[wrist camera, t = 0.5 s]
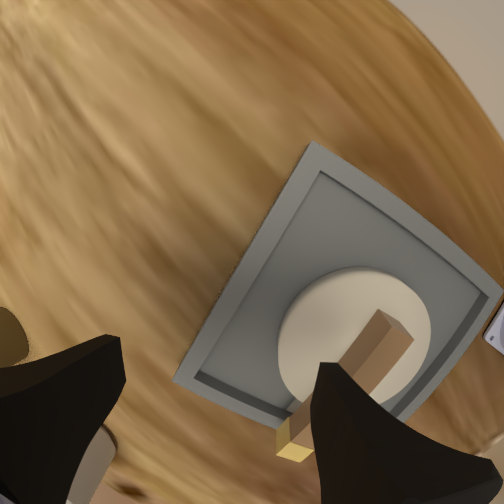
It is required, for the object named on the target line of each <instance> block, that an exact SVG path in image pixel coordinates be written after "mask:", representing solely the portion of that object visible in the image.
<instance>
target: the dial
mask: <svg viewBox="0 0 504 504" xmlns="http://www.w3.org/2000/svg"><path fill="white" fill-rule="evenodd" d="M430 337H431V326H430V319H429V315H428V312H427V310H426V307H425V305H424V303H423V302H422V300H421V299H420V298H419V296H418V295H417V294H416V293H415V292H414V291H413V290H412V289H410V288H409V287H408V286H407V285H406V284H404V283H403V282H402V281H401V280H399V279H398V278H397V277H396V276H394V275H392V274H390V273H388V272H386V271H383V270H380V269H376V268H372V267H350V268H345V269H340V270H337V271H334V272H331V273H329V274H326V275H324V276H322V277H320V278H319V279H317V280H315V281H314V282H312V283H311V284H310V285H308V286H307V287H306V288H305V289H303V290H302V291H301V292H300V293H299V294H298V295H297V296H296V298H295V299H294V300H293V302H292V303H291V304H290V306H289V307H288V309H287V311H286V312H285V314H284V317H283V319H282V322H281V325H280V329H279V334H278V365H279V370H280V374H281V377H282V380H283V382H284V384H285V385H286V387H287V389H288V390H289V391H290V392H291V393H292V395H293V396H295V397H296V398H297V399H298V400H299V401H301V402H302V404H301V405H300V406H299V408H298V409H297V410H296V411H295V412H294V413H293V414H292V415H291V416H290V417H288V418H287V419H286V420H285V421H284V422H283V423H282V424H281V425H280V426H279V427H278V428H277V429H276V455H278V456H281V457H284V458H287V459H290V460H293V461H297V462H301V461H302V460H303V459H305V458H306V457H307V456H308V455H309V454H310V453H312V452H313V451H314V443H313V438H312V432H311V420H310V403H311V399H312V395H313V391H314V387H315V383H316V378H317V374H318V369H319V365H320V362H337V363H338V364H339V365H340V366H341V367H342V368H343V369H344V370H345V371H346V372H347V373H348V374H349V375H350V376H351V377H352V379H353V380H354V381H355V382H356V383H357V384H358V385H359V386H360V387H361V388H362V389H363V390H364V391H365V392H366V393H367V394H368V395H369V396H370V397H371V398H373V399H374V400H375V401H376V402H377V403H378V404H381V403H383V402H385V401H386V400H388V399H390V398H391V397H393V396H394V395H396V394H397V393H398V392H399V391H401V390H402V389H403V388H404V387H405V386H406V385H407V384H408V383H409V382H410V381H411V380H412V379H413V377H414V376H415V375H416V373H417V372H418V370H419V369H420V367H421V365H422V363H423V361H424V359H425V357H426V354H427V351H428V348H429V344H430Z"/></svg>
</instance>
